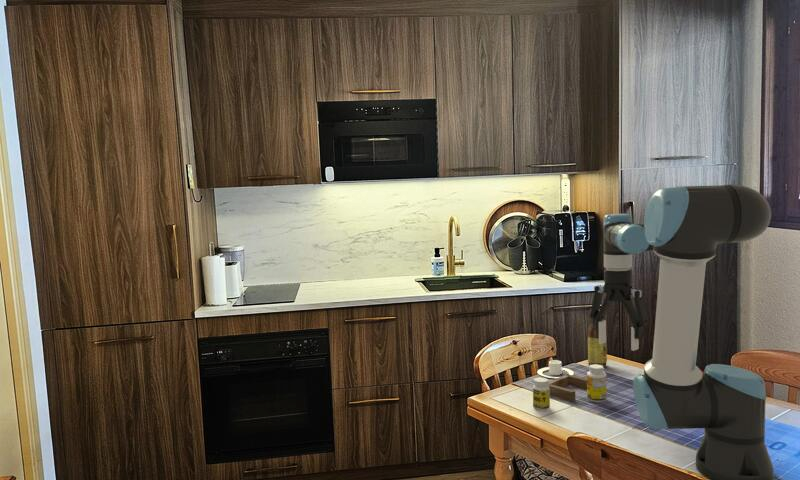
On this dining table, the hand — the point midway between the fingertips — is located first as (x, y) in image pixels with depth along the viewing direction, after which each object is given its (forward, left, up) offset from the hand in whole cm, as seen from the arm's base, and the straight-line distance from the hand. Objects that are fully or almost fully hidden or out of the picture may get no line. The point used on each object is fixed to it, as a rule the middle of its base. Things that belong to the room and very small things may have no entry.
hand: (618, 346), depth 174 cm
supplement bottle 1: (-16, +15, -18) cm, 28 cm away
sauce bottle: (+28, +24, -18) cm, 41 cm away
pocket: (0, +15, -18) cm, 23 cm away
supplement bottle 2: (0, +7, -18) cm, 19 cm away
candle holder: (+12, +30, -18) cm, 37 cm away
